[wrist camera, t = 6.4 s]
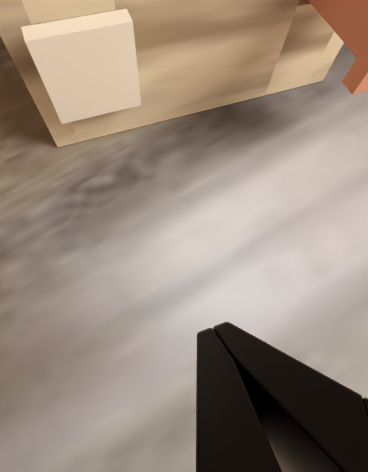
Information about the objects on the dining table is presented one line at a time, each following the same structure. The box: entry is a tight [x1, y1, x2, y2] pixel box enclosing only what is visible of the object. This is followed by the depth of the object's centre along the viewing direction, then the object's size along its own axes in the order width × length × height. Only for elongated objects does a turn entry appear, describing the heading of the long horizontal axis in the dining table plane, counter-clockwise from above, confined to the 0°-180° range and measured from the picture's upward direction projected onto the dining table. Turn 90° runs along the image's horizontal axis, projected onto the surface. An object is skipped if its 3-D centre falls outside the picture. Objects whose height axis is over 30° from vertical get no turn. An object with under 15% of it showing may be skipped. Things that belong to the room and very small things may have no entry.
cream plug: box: [21, 9, 141, 124], centre depth 17 cm, size 12×5×5 cm, turn 21°
